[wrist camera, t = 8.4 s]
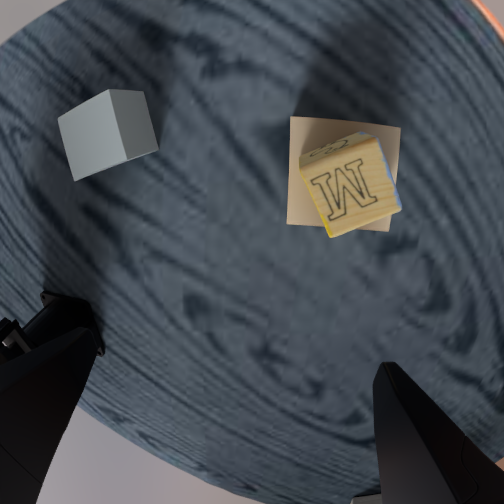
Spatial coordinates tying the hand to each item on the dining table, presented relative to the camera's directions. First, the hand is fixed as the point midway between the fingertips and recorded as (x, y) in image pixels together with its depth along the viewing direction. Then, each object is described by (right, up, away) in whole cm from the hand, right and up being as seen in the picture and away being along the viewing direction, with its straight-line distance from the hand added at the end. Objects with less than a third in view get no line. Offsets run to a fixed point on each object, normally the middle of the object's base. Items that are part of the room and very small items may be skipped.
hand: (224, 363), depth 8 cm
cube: (-7, +11, +9) cm, 16 cm away
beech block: (+5, +8, +8) cm, 13 cm away
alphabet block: (+5, +7, +5) cm, 10 cm away
